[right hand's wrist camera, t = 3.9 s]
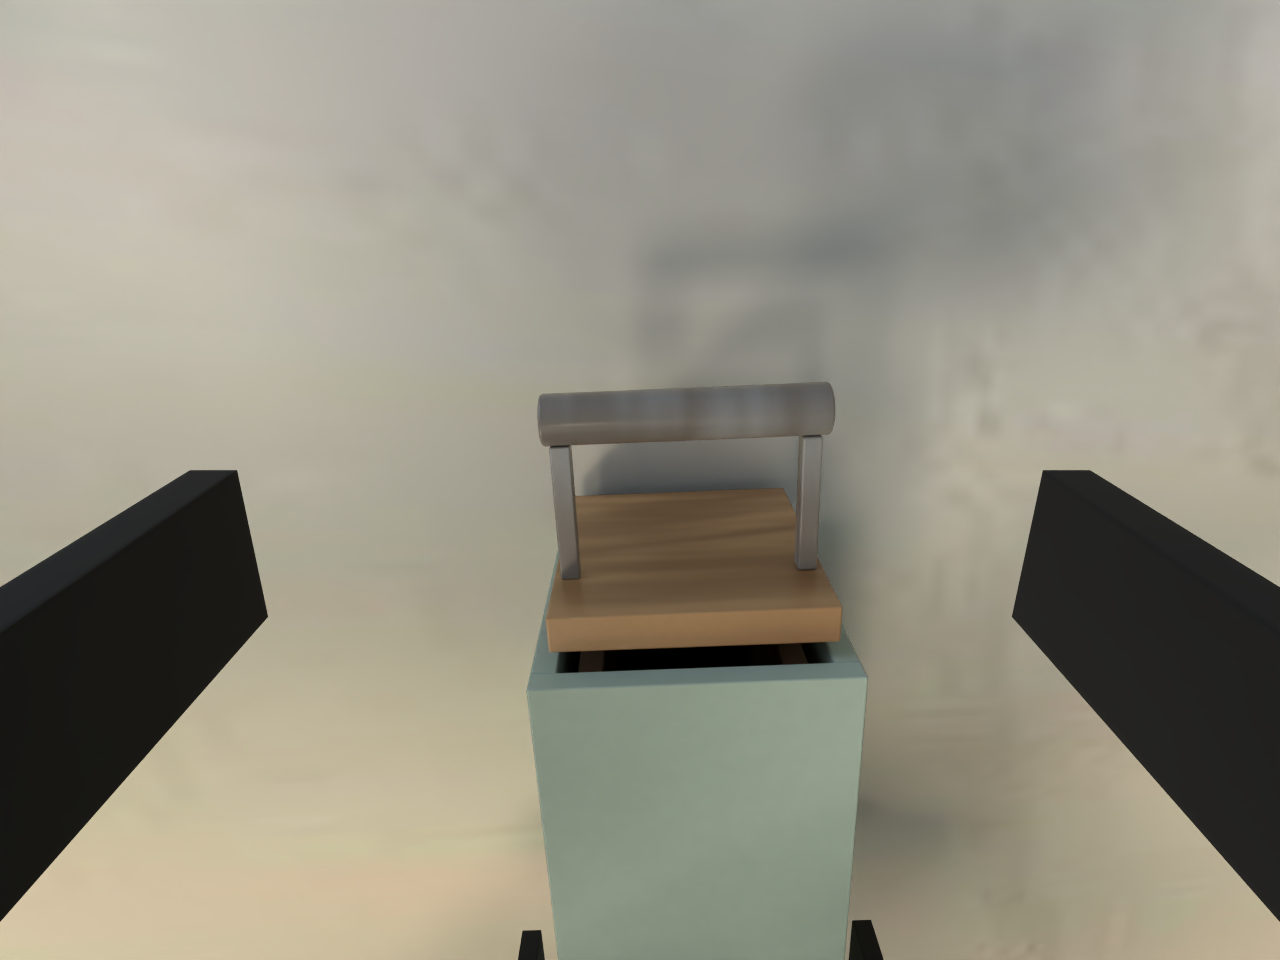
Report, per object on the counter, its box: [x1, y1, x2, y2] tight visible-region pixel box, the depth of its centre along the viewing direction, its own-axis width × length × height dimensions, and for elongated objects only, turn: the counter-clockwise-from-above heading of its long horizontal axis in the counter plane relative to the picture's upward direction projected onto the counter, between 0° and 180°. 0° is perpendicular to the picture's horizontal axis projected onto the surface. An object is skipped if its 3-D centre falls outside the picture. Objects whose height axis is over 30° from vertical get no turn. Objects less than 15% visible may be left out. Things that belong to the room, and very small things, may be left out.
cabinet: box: [527, 549, 868, 960], centre depth 30 cm, size 19×10×11 cm, turn 2°
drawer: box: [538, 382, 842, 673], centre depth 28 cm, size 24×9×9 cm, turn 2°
